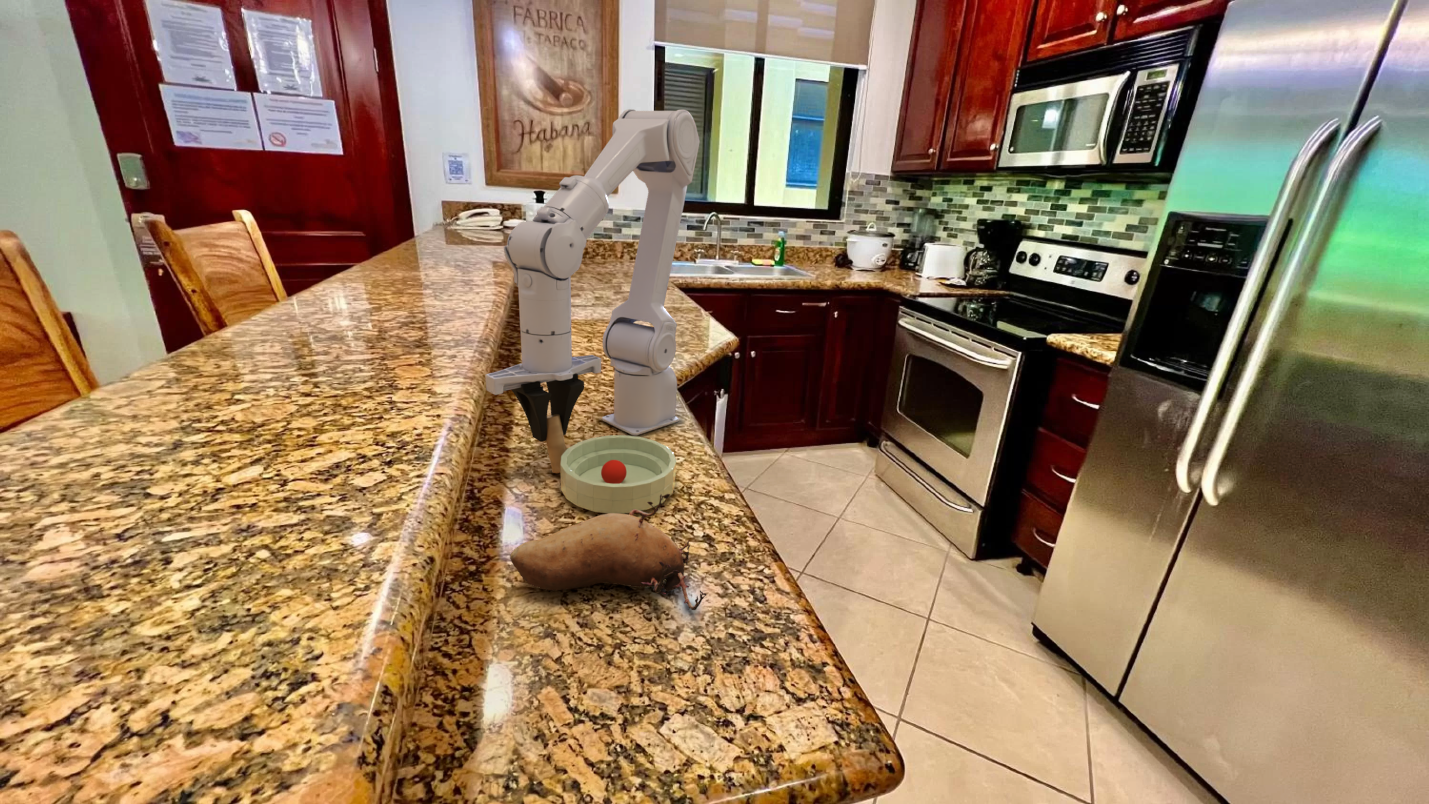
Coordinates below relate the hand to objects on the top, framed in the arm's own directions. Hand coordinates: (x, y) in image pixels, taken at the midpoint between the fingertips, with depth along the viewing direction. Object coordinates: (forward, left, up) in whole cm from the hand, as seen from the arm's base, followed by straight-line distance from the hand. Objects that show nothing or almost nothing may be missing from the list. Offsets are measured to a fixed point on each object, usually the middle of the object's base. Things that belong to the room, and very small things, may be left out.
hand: (549, 435), depth 69 cm
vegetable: (+10, +24, -4) cm, 26 cm away
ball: (-3, +10, -2) cm, 10 cm away
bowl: (-3, +10, -4) cm, 11 cm away
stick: (0, +2, -4) cm, 5 cm away
